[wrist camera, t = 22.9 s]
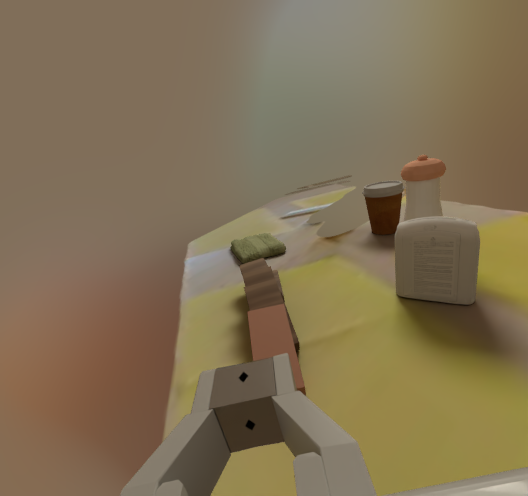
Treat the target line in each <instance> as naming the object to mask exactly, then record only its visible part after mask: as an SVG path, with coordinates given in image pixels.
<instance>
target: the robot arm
mask: <svg viewBox="0 0 528 496" xmlns="http://www.w3.org/2000/svg"><path fill="white" fill-rule="evenodd" d="M280 442H285V444H286V445H287V446H288V448H289V449H290V451H291V452H292V453H293V455H294V456H295V457H296V458H295V460H294V461H293V465H294V473H295V482H296V490H297V496H377V495H376V492H375V489H374V486H373V484H372V481H371V478H370V475H369V473H368V470H367V467H366V465H365V462H364V459H363V456H362V454H361V451H360V448H359V445H358V443H357V441H356V440H355V439H354V438H352V437H351V436H350V435H349V434H348V433H347V432H346V431H344V430H343V429H342V428H341V427H340V426H339V425H338V424H337V423H335V422H334V421H333V420H332V419H331V418H330V417H329V416H328V415H326V414H325V413H324V412H323V411H322V410H321V409H320V408H319V407H317V406H316V405H315V404H314V403H313V402H312V401H311V400H310V399H308V398H307V397H306V396H305V395H304V394H303V393H302V392H301V391H297V387H296V383H295V379H294V375H293V371H292V367H291V363H290V359H289V355H288V353H284V354H280V355H276V356H273V357H269V358H265V359H260V360H256V361H251V362H247V363H242V364H237V365H232V366H226V367H221V368H217V369H212V370H207V371H202V373H201V374H200V377H199V381H198V385H197V389H196V394H195V398H194V402H193V406H192V410H191V414H187V415H186V416H185V417H184V418H183V419H182V420H181V421H180V423H179V424H178V425H177V426H176V427H175V428H174V430H173V431H172V432H171V433H170V434H169V435H168V437H167V438H166V439H165V440H164V441H163V443H162V444H161V445H160V446H159V447H158V449H157V450H156V451H155V452H154V453H153V454H152V455H151V457H150V458H149V459H148V460H147V461H146V462H145V464H144V465H143V466H142V467H141V468H140V469H139V471H138V472H137V473H136V474H135V475H134V476H133V478H132V479H131V480H130V481H129V482H128V483H127V485H126V486H125V487H124V488H123V490H122V492H121V495H120V496H210V495H211V493H212V491H213V489H214V487H215V485H216V483H217V481H218V479H219V477H220V475H221V473H222V471H223V469H224V467H225V466H226V464H227V462H228V460H229V458H230V456H231V454H230V453H233V452H237V451H241V450H245V449H249V448H253V447H258V446H263V445H269V444H275V443H280ZM383 496H528V467H525V468H519V469H514V470H509V471H504V472H499V473H494V474H489V475H484V476H479V477H474V478H469V479H464V480H459V481H454V482H449V483H444V484H439V485H434V486H428V487H423V488H418V489H413V490H408V491H403V492H398V493H393V494H388V495H383Z"/></svg>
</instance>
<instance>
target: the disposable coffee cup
mask: <svg viewBox="0 0 528 496" xmlns="http://www.w3.org/2000/svg"><path fill="white" fill-rule="evenodd" d="M403 189H404V186H403V184H402V182H401V181H385V182H378V183H373V184H369V185H366V186H365V187H364V191H363V194H364V196H365V200H366V205H367V210H368V214H369V219H370V224H371V229H372V233H374V234H379V235H387V234H393V233H395V232H396V231H397V226H398V225H399V219H400V209H401V200H402V192H403Z"/></svg>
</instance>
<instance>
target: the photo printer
mask: <svg viewBox="0 0 528 496" xmlns="http://www.w3.org/2000/svg"><path fill="white" fill-rule="evenodd" d="M479 249H480V238H479V231H478V229H477V225H476V222H473V221H470V220H466V219H461V218H454V217H442V216H435V217H423V218H416V219H411V220H407V221H404V222H401V223H399V225H398V226H397V231H396V233H395V275H396V293H397V294H398V295H399V296H402V297H407V298H414V299H422V300H430V301H438V302H446V303H453V304H465V305H469V304H472V303H473V302H474V301H475V296H476V284H477V273H478V261H479Z"/></svg>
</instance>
